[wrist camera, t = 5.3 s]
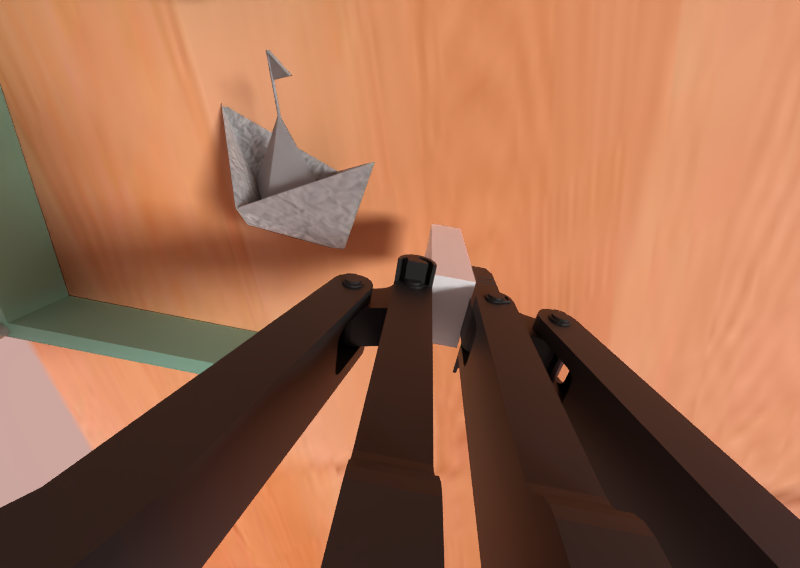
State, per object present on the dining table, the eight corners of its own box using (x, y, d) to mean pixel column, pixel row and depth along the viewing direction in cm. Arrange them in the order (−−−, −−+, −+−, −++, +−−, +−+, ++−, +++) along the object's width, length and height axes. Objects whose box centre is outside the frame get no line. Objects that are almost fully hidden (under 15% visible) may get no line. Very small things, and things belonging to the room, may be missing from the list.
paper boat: (198, 222, 20) (122, 37, 14) (285, 190, 24) (254, 35, 18) (327, 316, 15) (293, 81, 9) (412, 255, 19) (430, 64, 13)
